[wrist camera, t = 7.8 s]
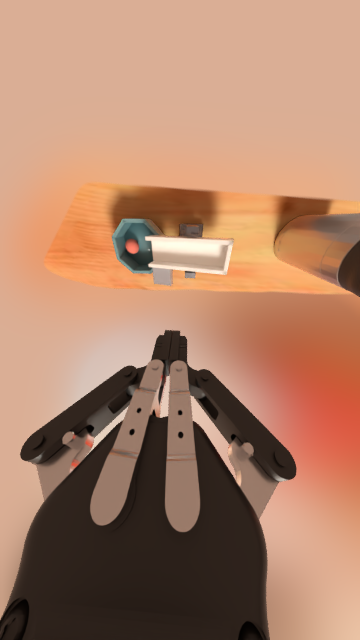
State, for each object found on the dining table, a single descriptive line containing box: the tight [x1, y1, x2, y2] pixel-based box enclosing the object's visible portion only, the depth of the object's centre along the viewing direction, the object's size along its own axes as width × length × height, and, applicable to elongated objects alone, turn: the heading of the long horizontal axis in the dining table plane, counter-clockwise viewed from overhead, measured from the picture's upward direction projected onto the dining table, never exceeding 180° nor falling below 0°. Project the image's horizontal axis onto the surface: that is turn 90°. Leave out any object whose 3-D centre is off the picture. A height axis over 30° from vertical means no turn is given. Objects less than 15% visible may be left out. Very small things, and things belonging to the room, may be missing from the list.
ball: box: [125, 239, 139, 254], centre depth 31 cm, size 3×3×3 cm
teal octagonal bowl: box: [112, 219, 165, 274], centre depth 31 cm, size 10×10×6 cm
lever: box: [145, 235, 234, 286], centre depth 28 cm, size 15×9×6 cm, turn 88°
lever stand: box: [180, 224, 203, 278], centre depth 29 cm, size 5×9×10 cm, turn 179°
